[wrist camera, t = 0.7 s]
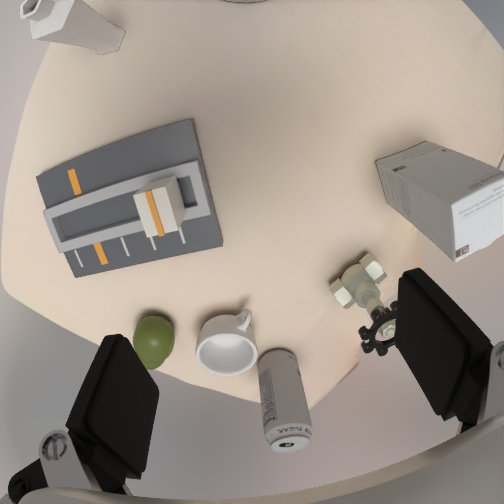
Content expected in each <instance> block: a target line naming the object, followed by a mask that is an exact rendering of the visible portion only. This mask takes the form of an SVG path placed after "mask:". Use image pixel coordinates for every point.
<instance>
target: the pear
mask: <svg viewBox="0 0 504 504" xmlns="http://www.w3.org/2000/svg"><path fill="white" fill-rule="evenodd" d="M174 340H175V334H174V330H173V327H172V325H171V324H170V323H169V322H168V321H167V320H166V319H164V318H162V317H160V316H148V317H145V318H144V319H142V320H141V321H140V322H139V324H138V325H137V327H136V329H135V332H134V336H133V346H134V349H135V351H136V353H137V355H138V357H139V358H140V360H141V361H142V363H143V365H144V366H145V368H147V369H150V370H153V369H156V368H158V367H159V366H161V365H162V363H163V362H164V360H165V359H166V358H167V357H168V356H169V355H170V354H171V352H172V350H173V346H174Z"/></svg>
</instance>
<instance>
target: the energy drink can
mask: <svg viewBox="0 0 504 504" xmlns="http://www.w3.org/2000/svg"><path fill="white" fill-rule="evenodd" d="M258 376H259V386H260V397H261V407H262V417H263V428H264V436H265V439H266V441H267V442H268V443H269V444H270V446H271V450H272V451H274V452H277V453H292V452H296V451H300V450H302V449H304V448H306V447H307V446H308V445H309V444H310V437H311V434H312V431H313V428H312V424H311V419H310V415H309V410H308V406H307V401H306V397H305V392H304V388H303V384H302V379H301V375H300V371H299V366H298V362H297V359H296V357H295V356H294V355H293V354H291V353H290V352H288V351H286V350H281V349H277V350H272V351H269V352H267V353H266V354H265V355H263V357H262V358H261V359H260V361H259V362H258Z"/></svg>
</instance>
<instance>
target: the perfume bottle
mask: <svg viewBox="0 0 504 504" xmlns="http://www.w3.org/2000/svg"><path fill="white" fill-rule="evenodd" d="M20 14H21V15H20V16H21V19H24V18H28V19H30V27H31V34H32V39H33V40H42V41H49V42H56V43H63V44H69V45H75V46H80V47H85V48H90V49H95V51H96V52H97V54H98V55H101V54H106V53H111V52H116V51H118V50H119V47H120V45H121V42H122V40H123V38H124V35H125V30H123V29H121V28H119V27H117V26H115V25H113V24H110V23H109V22H108V21H107V20H106V19H104V18H103V17H102V16H101V15H100V14H98V13H97V12H96V11H95V10H94V9H92V8H91V7H90V6H89V5H88V4H86V3H85V2H84V1H83V0H25V1H24V2H23V3H22V5H21V6H20Z"/></svg>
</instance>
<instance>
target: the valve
mask: <svg viewBox="0 0 504 504" xmlns="http://www.w3.org/2000/svg"><path fill="white" fill-rule="evenodd" d="M359 262H360V264H355V265H352V266H350V267H349V268H348V269H347V270H346V271H345V272H344V273H343V275H342V278H341V279H339V278H338V279H337V280H336V281H335V282H333V283H332V284H331V285H330V290H331V292H332V294H333V295H334V297H335V298H336V300H337V301H338V302H339V303H340V304H341V305H342V306H343V307H344V308H346V309H348V308H349V307H351V306H352V305H353V304H354V303H356V302H357V304H358V305H359V306H360V307H362V308H367V311H368V313H369V315H370V317H371V319H372V320H373V325H372V326H371V328H370V329H367V328H366V327H365V326H362V327H361V328H360V329H359V331H358V333H359V335H360V337H361V339H362V340H368V339H369V342H368V343H365V342H364V341H363V342H362V344H361V347H362V349H363V351H364V352H365V353H370V352H372V351H373V349H374V348H376V351H377V353H378V355H379V356H384V355H386V354H387V352H388V348H389V347H391V346H393V345H395V346H396V344H395V339H394V337H393V338H391V339H389V340H386V341H378V340H376V339H375V335H376V333H377V331H379V333H381V335H382V337H385V338H389V337H391V336H393V335H394V334H395V325H396V320H394V319H396V314H397V301H394V302H392V303H391V305H390V307H391V309H392V310H391V311H390V310H389V308H388V307H386V308H384V305H383V303H382V302H381V300H380V299H379V298H380V291H379V289H378V288H377V286H376V285H375V283H377V284H379V283H380V282H381V281H382V280H383V279H385V278H386V277H387V274H386V273H385V272H384V270H383V269H382V268H381V266H380V265H379V264H378V263H377V261H376V260H375V259H374V258H373V256H372V255H371V254H369V253H368V254H366V255H365V256H364V257H363V258H362V259H361V260H360V261H359ZM396 348H397V346H396Z"/></svg>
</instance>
